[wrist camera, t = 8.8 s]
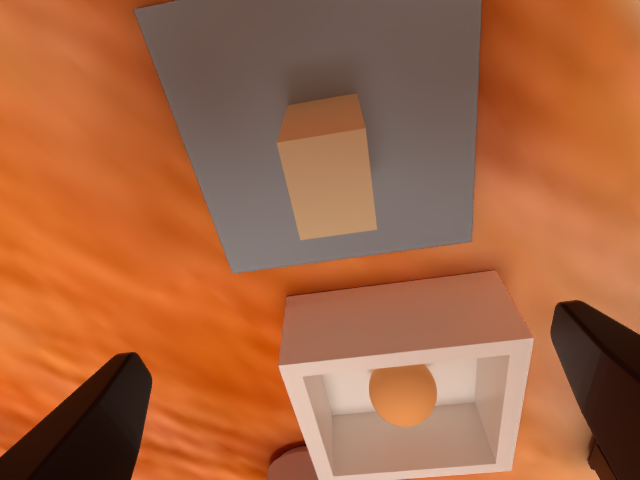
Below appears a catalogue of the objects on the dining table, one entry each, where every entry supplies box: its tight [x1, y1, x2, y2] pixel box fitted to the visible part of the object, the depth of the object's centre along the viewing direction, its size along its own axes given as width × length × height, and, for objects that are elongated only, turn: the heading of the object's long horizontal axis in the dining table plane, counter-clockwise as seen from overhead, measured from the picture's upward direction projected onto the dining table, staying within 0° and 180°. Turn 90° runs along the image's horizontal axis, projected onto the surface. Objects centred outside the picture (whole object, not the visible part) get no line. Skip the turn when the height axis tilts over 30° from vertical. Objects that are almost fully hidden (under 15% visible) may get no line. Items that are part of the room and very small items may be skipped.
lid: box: [133, 0, 482, 273], centre depth 17 cm, size 13×13×6 cm
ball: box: [369, 364, 437, 427], centre depth 24 cm, size 4×4×4 cm
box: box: [278, 270, 534, 480], centre depth 24 cm, size 12×12×5 cm
